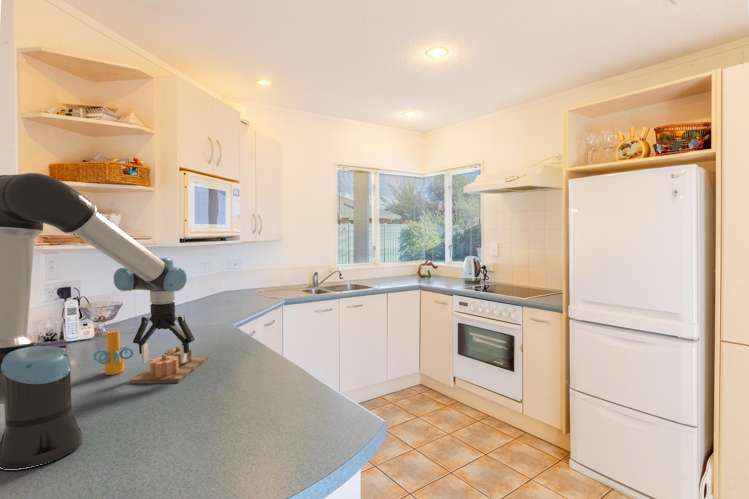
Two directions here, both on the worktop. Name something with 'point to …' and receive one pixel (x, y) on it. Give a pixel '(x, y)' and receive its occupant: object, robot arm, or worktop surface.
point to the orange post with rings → (113, 354)
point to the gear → (164, 366)
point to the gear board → (175, 377)
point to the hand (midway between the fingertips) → (164, 362)
